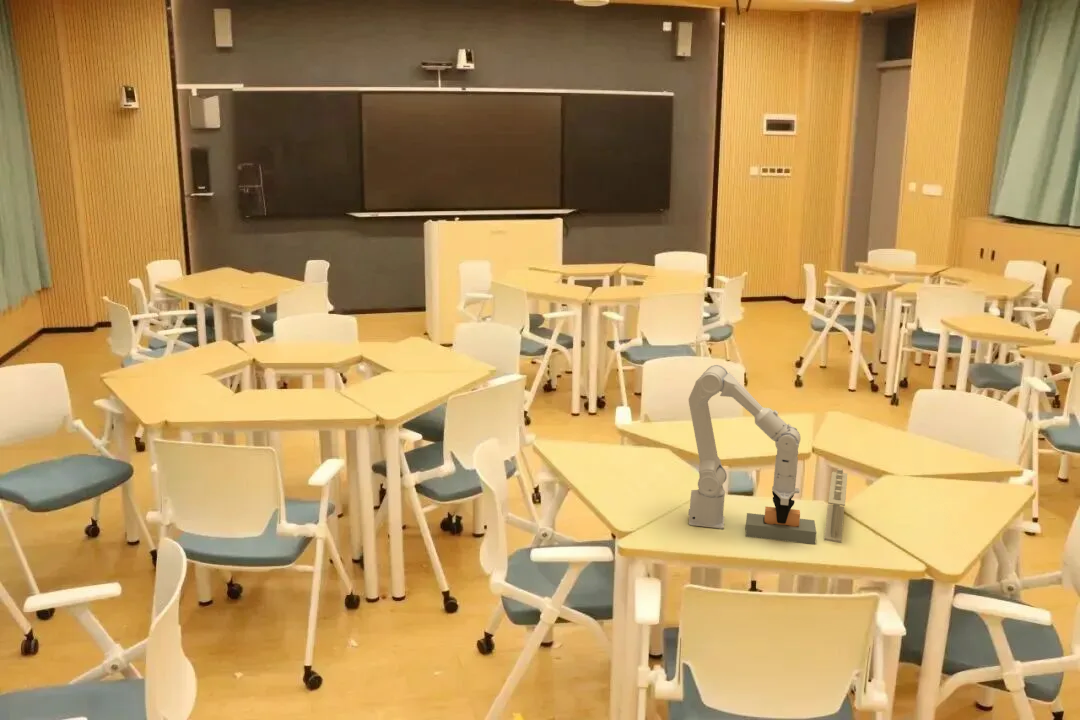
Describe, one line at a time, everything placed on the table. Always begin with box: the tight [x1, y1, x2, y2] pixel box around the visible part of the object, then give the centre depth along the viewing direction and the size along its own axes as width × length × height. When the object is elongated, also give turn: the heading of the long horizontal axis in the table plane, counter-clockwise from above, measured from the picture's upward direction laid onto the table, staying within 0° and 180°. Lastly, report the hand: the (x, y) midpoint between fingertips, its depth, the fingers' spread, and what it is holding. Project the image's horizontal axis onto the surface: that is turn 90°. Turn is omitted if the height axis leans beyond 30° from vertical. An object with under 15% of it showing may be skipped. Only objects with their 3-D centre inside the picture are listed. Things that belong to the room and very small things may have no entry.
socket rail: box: [745, 512, 817, 545], centre depth 247 cm, size 18×8×4 cm, turn 77°
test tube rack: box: [823, 467, 848, 544], centre depth 254 cm, size 25×4×13 cm, turn 161°
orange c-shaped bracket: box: [764, 506, 801, 527], centre depth 247 cm, size 9×3×6 cm, turn 77°
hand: (781, 520), depth 247 cm, fingers closed on orange c-shaped bracket, 3 cm apart
